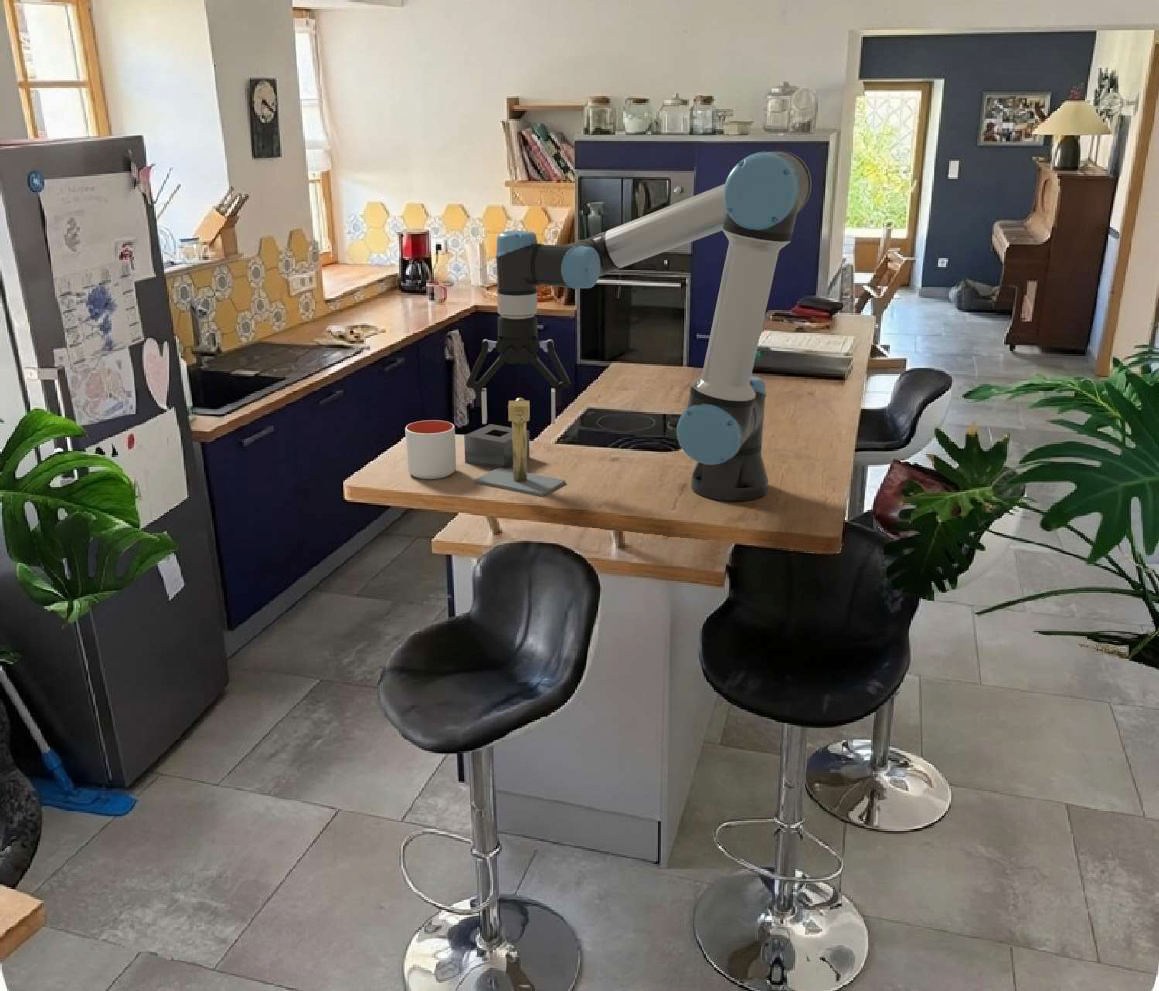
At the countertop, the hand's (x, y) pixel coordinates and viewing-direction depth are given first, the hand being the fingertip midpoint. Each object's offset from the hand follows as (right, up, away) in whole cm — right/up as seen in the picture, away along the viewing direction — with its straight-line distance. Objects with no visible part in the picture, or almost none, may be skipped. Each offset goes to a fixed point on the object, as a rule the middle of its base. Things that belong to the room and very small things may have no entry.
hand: (519, 422), depth 202 cm
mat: (0, -12, +4) cm, 13 cm away
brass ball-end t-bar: (0, -11, +4) cm, 12 cm away
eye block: (-6, -7, +18) cm, 20 cm away
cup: (-19, -10, +10) cm, 23 cm away
